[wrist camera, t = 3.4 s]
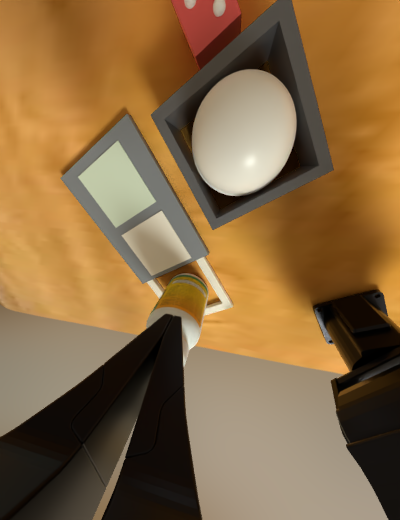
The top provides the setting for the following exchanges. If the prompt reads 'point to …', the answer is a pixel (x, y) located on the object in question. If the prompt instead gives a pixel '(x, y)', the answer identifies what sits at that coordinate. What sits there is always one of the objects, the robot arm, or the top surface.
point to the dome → (244, 132)
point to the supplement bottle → (184, 307)
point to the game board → (139, 209)
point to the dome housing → (233, 60)
